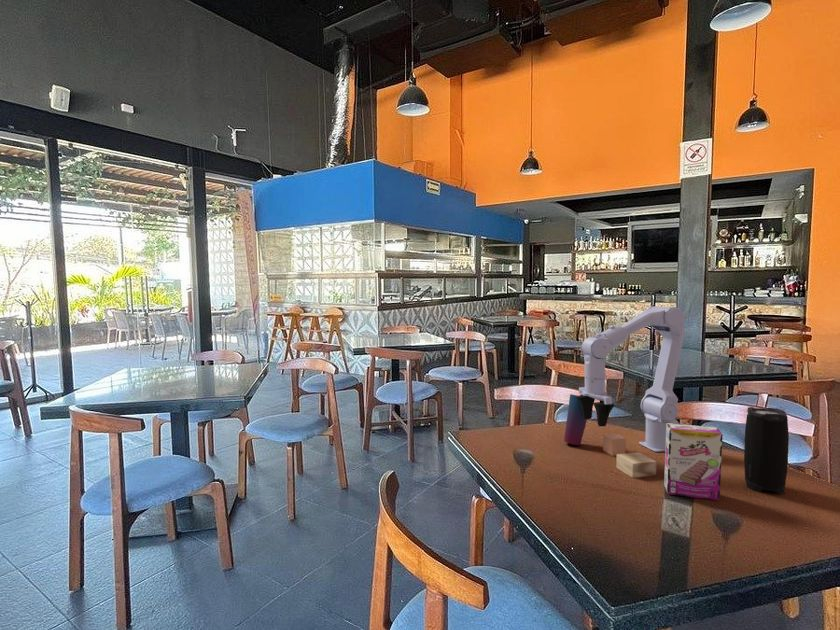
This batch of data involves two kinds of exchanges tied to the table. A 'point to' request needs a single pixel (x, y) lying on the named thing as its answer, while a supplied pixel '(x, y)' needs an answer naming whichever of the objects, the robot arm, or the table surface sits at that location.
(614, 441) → the terracotta cube
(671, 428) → the candy bar box
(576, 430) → the cup
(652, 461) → the oak block
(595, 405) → the robot arm
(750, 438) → the portable speaker
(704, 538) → the table surface
